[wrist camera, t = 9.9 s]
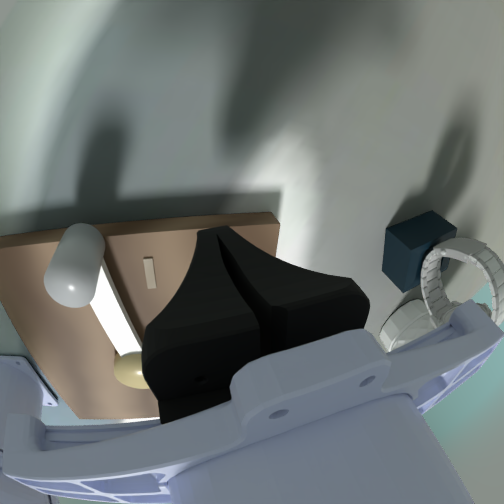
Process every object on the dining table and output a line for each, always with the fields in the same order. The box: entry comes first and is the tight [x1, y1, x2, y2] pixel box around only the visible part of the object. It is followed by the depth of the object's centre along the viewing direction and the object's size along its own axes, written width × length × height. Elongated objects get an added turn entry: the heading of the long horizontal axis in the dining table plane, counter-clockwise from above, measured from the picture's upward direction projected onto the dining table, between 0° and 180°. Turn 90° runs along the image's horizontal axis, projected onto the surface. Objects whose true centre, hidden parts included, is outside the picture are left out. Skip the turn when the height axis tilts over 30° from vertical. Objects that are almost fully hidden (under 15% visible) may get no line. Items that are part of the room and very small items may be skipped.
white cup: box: [380, 299, 435, 352], centre depth 26 cm, size 8×8×10 cm
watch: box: [382, 211, 504, 329], centre depth 18 cm, size 6×8×11 cm
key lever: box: [44, 223, 150, 389], centre depth 15 cm, size 13×4×3 cm, turn 3°
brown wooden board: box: [0, 212, 280, 419], centre depth 19 cm, size 18×20×2 cm
